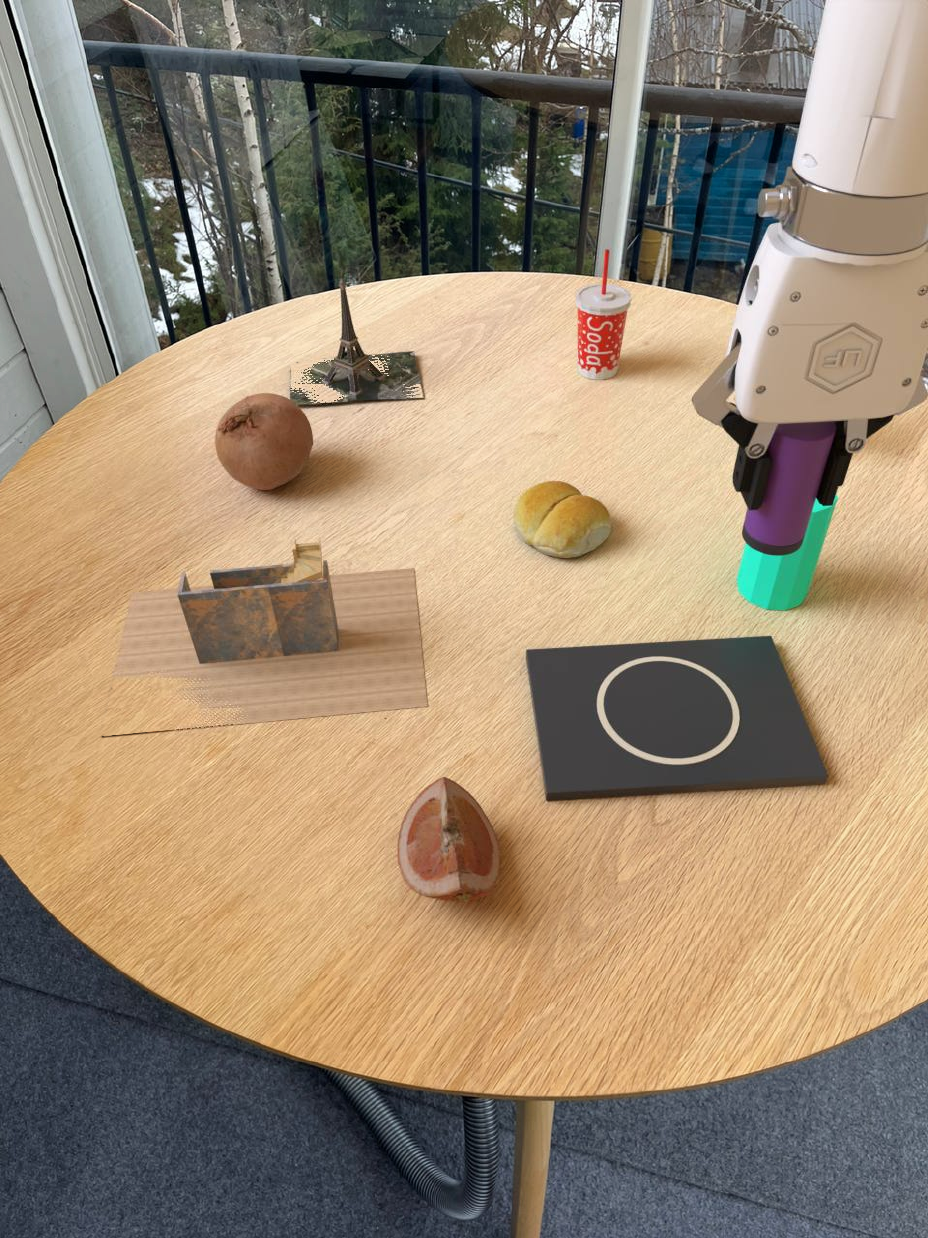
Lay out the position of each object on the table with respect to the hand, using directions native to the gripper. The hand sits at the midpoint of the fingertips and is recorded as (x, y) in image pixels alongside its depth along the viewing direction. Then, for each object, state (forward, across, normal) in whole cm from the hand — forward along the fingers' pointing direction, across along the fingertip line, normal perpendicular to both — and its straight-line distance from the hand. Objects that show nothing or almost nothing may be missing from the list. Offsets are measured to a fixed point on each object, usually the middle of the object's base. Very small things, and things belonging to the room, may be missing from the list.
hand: (783, 492), depth 61 cm
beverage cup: (+19, -3, +49) cm, 53 cm away
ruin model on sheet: (+19, -37, +7) cm, 42 cm away
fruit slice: (+19, -23, -15) cm, 33 cm away
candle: (+19, +6, +11) cm, 22 cm away
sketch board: (+18, -6, -3) cm, 20 cm away
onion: (+19, -39, +31) cm, 53 cm away
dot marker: (+4, 0, 0) cm, 4 cm away
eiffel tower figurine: (+19, -31, +49) cm, 61 cm away
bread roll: (+19, -11, +20) cm, 30 cm away
